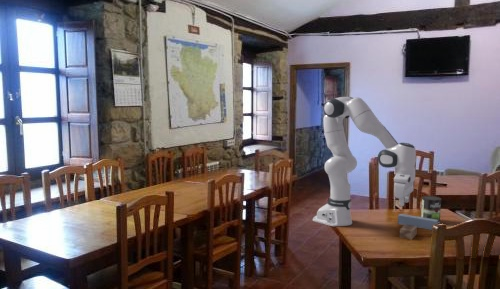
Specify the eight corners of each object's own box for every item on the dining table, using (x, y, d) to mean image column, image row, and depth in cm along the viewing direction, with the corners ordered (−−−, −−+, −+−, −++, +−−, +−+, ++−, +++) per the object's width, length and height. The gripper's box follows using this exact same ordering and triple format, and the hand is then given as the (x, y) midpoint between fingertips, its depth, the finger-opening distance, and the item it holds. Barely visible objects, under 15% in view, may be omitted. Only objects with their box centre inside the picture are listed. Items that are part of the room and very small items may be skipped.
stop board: (397, 223, 227) (398, 215, 226) (399, 222, 230) (400, 213, 229) (435, 230, 215) (436, 221, 214) (437, 228, 218) (437, 219, 218)
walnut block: (399, 237, 205) (399, 229, 204) (404, 232, 213) (405, 224, 212) (411, 240, 201) (412, 231, 201) (416, 234, 209) (417, 226, 209)
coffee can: (444, 223, 227) (445, 199, 226) (427, 224, 225) (429, 200, 224) (432, 218, 237) (433, 195, 236) (416, 219, 235) (418, 196, 234)
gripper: (404, 172, 205) (403, 198, 206) (392, 178, 188) (391, 207, 190) (417, 173, 201) (416, 200, 203) (406, 180, 184) (405, 209, 186)
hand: (404, 203), depth 196 cm, fingers open, 7 cm apart
